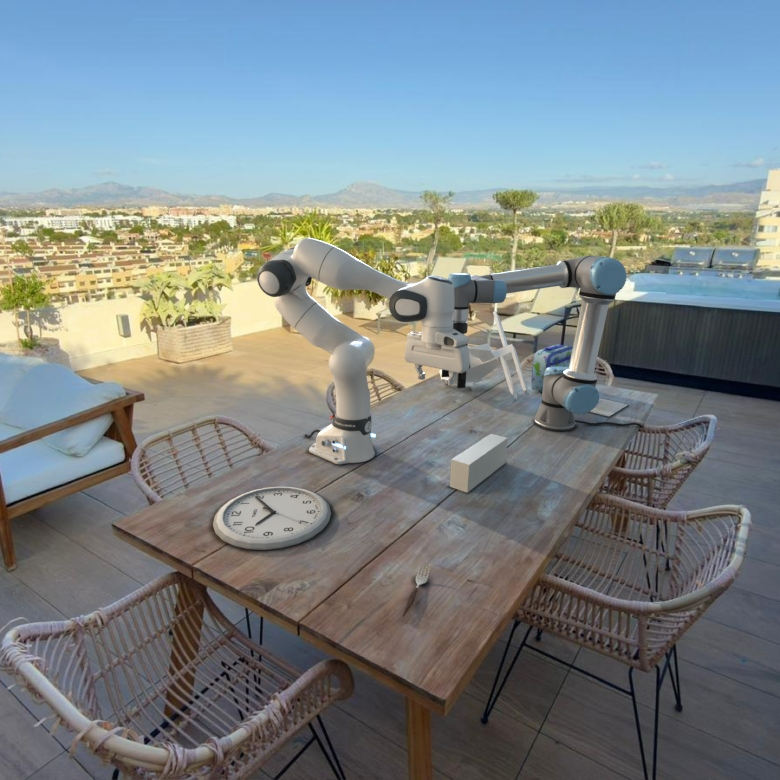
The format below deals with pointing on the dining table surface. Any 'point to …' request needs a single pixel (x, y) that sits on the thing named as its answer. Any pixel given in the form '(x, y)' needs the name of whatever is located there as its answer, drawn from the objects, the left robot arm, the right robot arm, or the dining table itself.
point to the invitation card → (607, 407)
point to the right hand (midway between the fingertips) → (453, 382)
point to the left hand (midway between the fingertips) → (434, 382)
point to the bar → (478, 462)
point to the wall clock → (272, 518)
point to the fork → (419, 580)
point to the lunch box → (549, 362)
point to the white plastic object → (492, 362)
